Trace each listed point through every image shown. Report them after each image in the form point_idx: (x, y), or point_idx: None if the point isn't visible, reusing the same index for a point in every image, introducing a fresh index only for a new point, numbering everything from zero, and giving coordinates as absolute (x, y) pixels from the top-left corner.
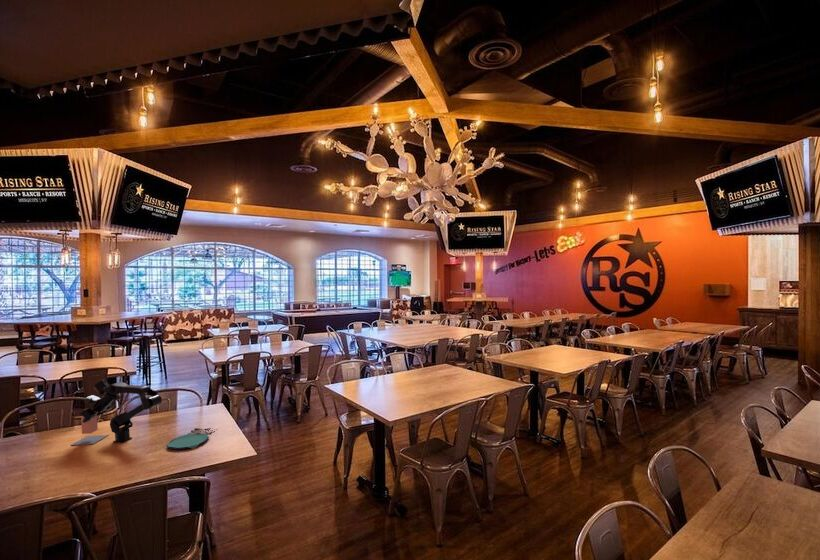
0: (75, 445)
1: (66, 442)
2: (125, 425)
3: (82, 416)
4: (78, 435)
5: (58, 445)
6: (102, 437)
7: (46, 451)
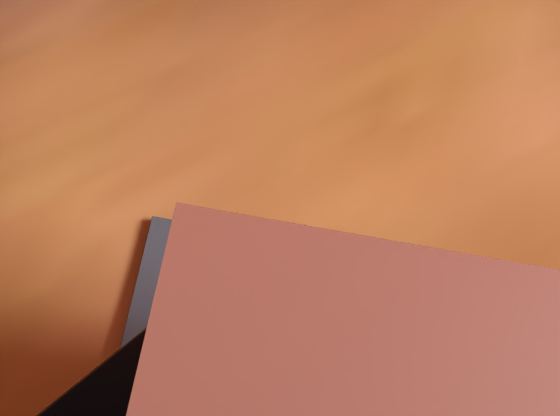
0: (137, 283)
1: (307, 104)
2: None
3: (166, 272)
4: (532, 128)
5: (227, 62)
6: None
7: (60, 26)
